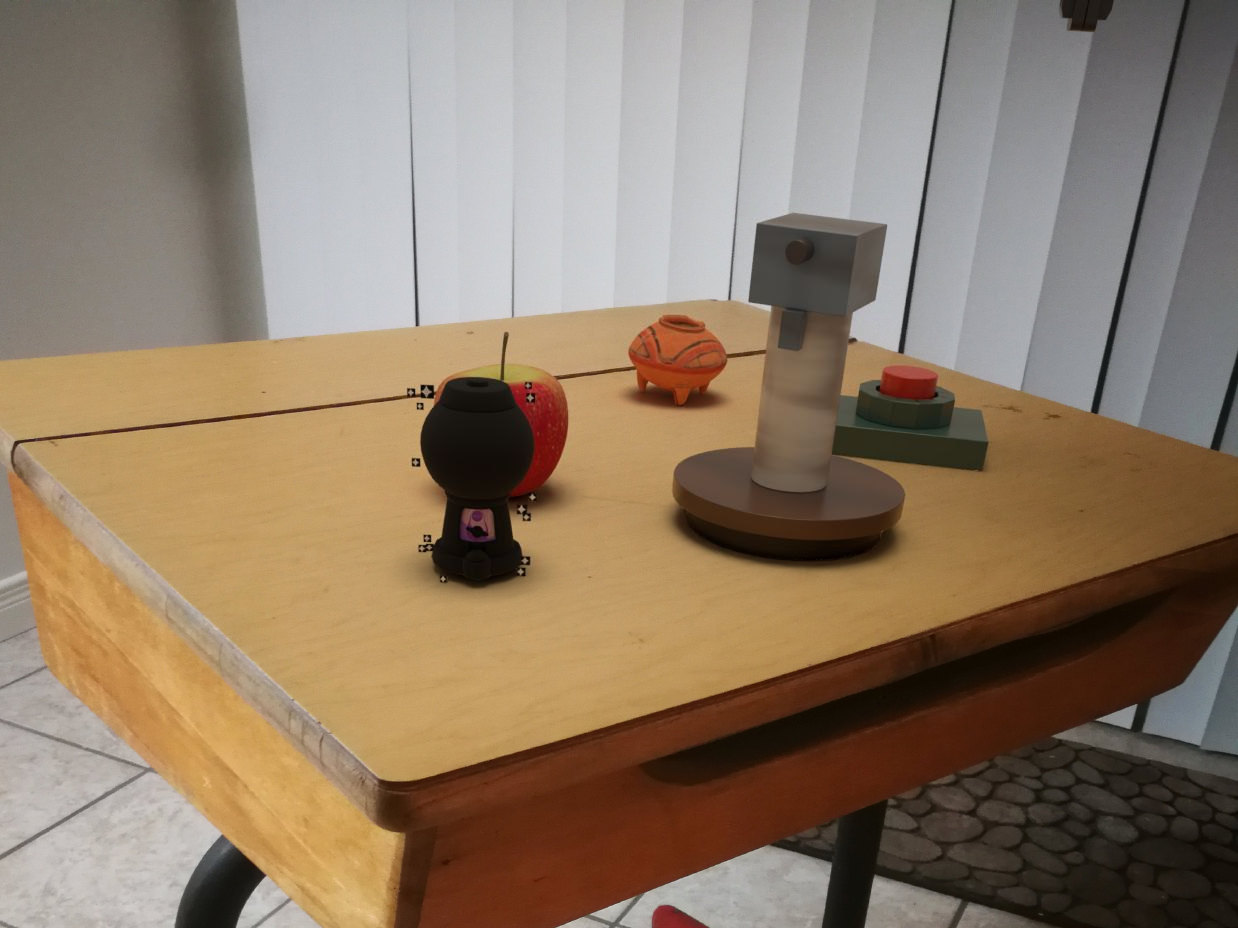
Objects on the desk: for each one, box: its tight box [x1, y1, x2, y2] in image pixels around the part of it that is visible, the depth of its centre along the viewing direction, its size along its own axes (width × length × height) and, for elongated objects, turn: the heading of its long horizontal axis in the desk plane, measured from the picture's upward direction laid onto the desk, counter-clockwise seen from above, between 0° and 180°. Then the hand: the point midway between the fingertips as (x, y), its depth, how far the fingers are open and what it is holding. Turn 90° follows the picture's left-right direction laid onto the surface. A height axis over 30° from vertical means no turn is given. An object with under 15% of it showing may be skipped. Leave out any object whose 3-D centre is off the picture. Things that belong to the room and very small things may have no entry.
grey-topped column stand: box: [671, 212, 906, 540], centre depth 73 cm, size 14×14×15 cm
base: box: [685, 511, 883, 562], centre depth 78 cm, size 12×12×1 cm
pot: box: [627, 314, 728, 406], centre depth 102 cm, size 8×8×7 cm
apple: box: [433, 331, 569, 498], centre depth 78 cm, size 8×8×10 cm
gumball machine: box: [406, 377, 538, 584], centre depth 67 cm, size 7×6×10 cm
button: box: [879, 365, 939, 400], centre depth 93 cm, size 4×4×2 cm
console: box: [832, 379, 989, 472], centre depth 94 cm, size 12×9×4 cm
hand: (1079, 30), depth 74 cm, fingers closed
